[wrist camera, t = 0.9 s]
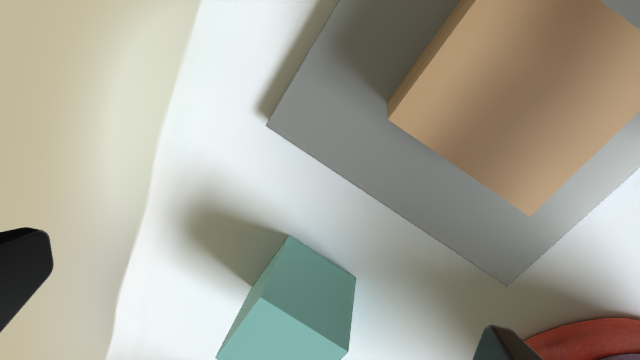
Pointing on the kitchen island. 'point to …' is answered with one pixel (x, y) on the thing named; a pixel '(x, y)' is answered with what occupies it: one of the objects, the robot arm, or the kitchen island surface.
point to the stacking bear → (590, 341)
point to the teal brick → (294, 310)
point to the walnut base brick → (522, 91)
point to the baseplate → (416, 158)
